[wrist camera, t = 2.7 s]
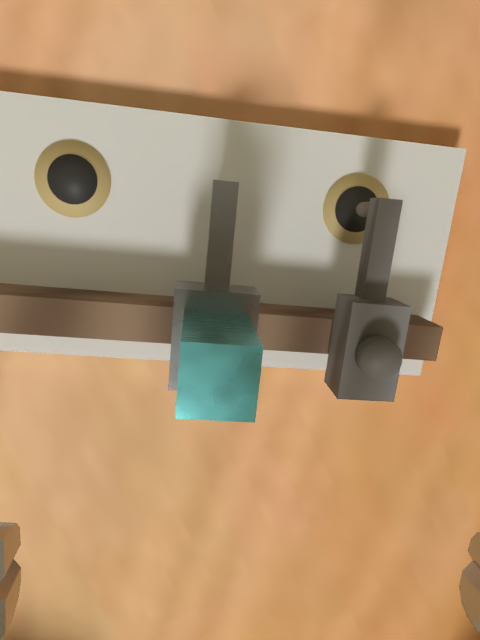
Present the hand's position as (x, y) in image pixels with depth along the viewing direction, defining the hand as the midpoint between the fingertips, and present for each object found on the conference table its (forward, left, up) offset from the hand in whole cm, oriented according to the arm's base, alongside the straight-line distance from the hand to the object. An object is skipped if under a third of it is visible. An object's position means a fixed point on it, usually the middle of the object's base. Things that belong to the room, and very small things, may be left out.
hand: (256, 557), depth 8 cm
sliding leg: (0, -2, -19) cm, 19 cm away
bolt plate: (+1, -4, -21) cm, 21 cm away
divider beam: (+1, -2, -19) cm, 19 cm away
